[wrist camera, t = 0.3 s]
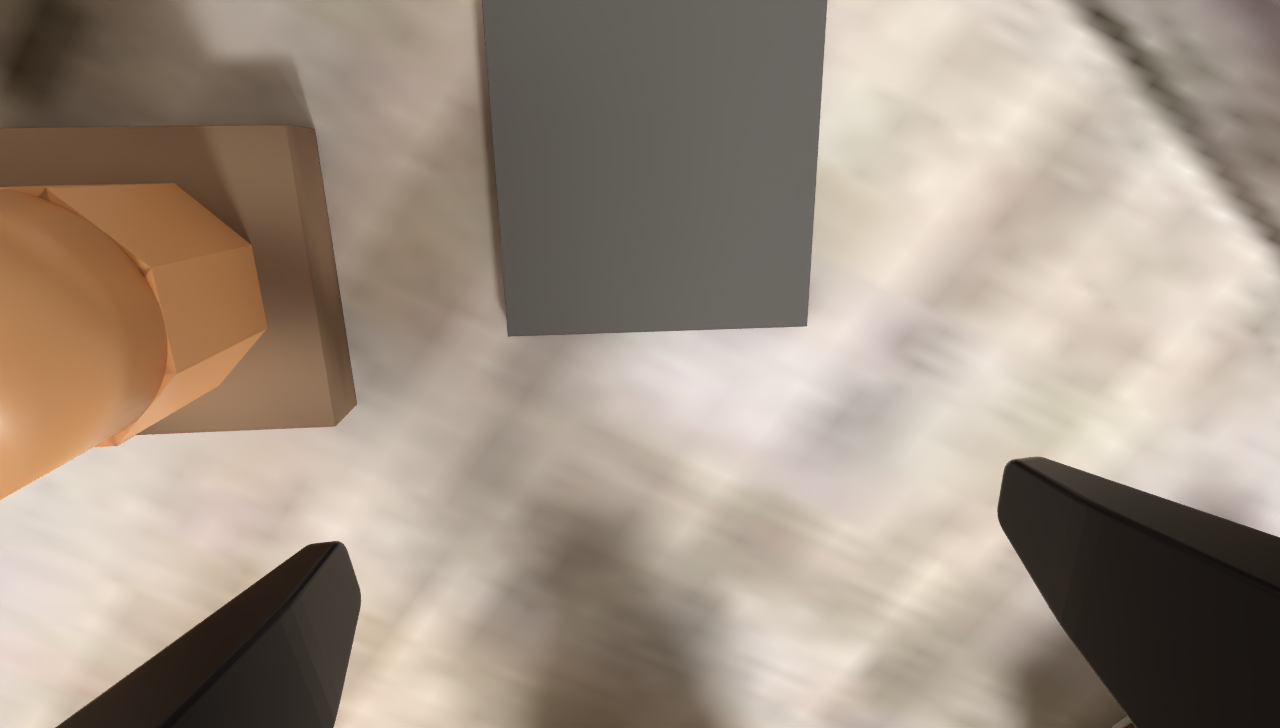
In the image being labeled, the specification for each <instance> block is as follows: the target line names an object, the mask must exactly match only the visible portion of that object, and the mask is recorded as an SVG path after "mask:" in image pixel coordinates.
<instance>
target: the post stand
mask: <svg viewBox="0 0 1280 728" xmlns="http://www.w3.org/2000/svg"><path fill="white" fill-rule="evenodd" d="M161 183H175V184H176V185H177V186H179V187H180V188H181V189H182V190H184V191H185V192H186V193H187V194H189V195H190V196H191V197H192V198H194V199H195V200H196V201H197V202H199V203H200V204H201V205H202V206H204V207H205V208H206V209H207V210H209V211H210V212H211V213H212V214H214V215H215V216H216V217H217V218H218V219H220V220H221V221H222V222H223V223H225V224H226V225H227V226H228V227H230V228H231V229H232V230H233V231H235V232H236V233H237V234H238V235H240V236H241V237H242V238H243V239H245V240H246V241H247V242H248V243H250V244H251V245H252V249H253V255H254V260H255V265H256V271H257V276H258V281H259V286H260V292H261V297H262V302H263V308H264V313H265V318H266V323H267V329H266V331H265V332H264V333H263V334H262V335H261V336H260V338H259V339H258V340H257V341H256V342H255V344H254V345H253V346H252V347H251V348H250V349H249V351H248V352H247V353H246V354H245V355H244V357H243V358H242V359H241V360H240V361H239V362H238V364H237V365H236V366H235V367H234V368H233V369H232V371H231V372H230V373H229V374H228V375H227V377H226V378H225V379H224V380H223V381H222V382H221V384H220V385H219V386H218V387H216V388H214V389H213V390H211V391H209V392H208V393H206V394H204V395H203V396H201V397H199V398H197V399H196V400H194V401H192V402H191V403H189V404H187V405H186V406H184V407H182V408H180V409H179V410H177V411H175V412H174V413H172V414H170V415H169V416H167V417H165V418H164V419H162V420H160V421H158V422H157V423H155V424H153V425H152V426H150V427H148V428H147V429H145V430H143V431H142V432H140V433H138V434H136V435H146V434H170V433H193V432H216V431H240V430H263V429H286V428H310V427H333V426H336V425H337V424H338V423H339V422H340V421H341V420H342V419H343V418H344V417H345V416H346V415H347V414H348V413H349V412H350V411H351V410H352V409H353V408H354V407H355V406H356V405H357V403H356V396H355V390H354V383H353V377H352V370H351V364H350V357H349V351H348V344H347V338H346V331H345V325H344V318H343V312H342V305H341V298H340V292H339V285H338V279H337V272H336V266H335V259H334V253H333V246H332V240H331V233H330V227H329V220H328V213H327V207H326V200H325V194H324V187H323V181H322V174H321V168H320V161H319V155H318V148H317V142H316V135H315V129H310V128H303V127H296V126H289V125H239V126H147V127H55V128H0V187H24V186H55V185H101V184H161Z"/></svg>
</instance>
